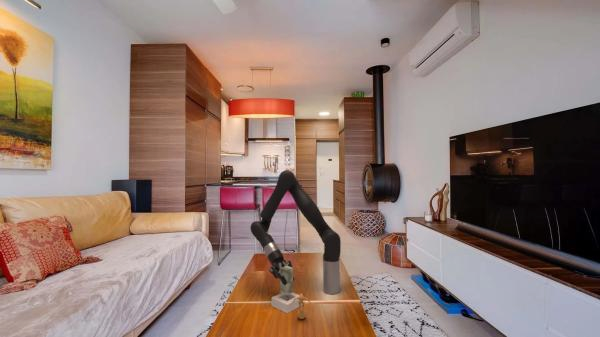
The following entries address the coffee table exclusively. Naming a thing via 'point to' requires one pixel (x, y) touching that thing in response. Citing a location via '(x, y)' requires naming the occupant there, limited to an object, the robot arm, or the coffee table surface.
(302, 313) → the figurine
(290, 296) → the white well block
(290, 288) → the green metallic peg
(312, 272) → the coffee table surface
